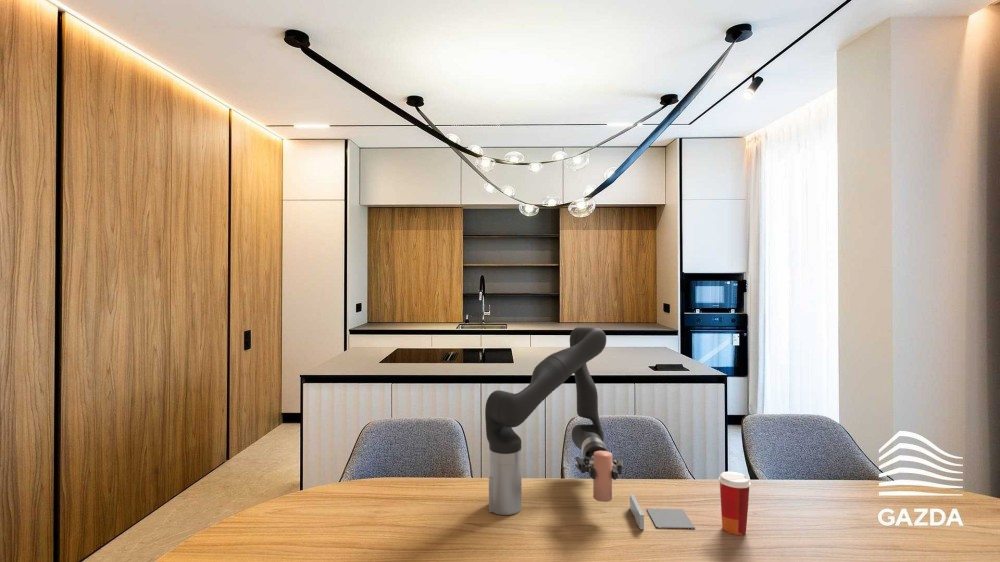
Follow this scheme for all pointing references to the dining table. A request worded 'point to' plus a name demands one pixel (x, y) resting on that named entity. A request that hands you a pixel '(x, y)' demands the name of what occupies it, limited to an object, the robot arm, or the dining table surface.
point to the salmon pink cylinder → (602, 476)
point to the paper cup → (734, 502)
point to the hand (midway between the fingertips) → (604, 475)
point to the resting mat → (670, 518)
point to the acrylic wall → (637, 511)
